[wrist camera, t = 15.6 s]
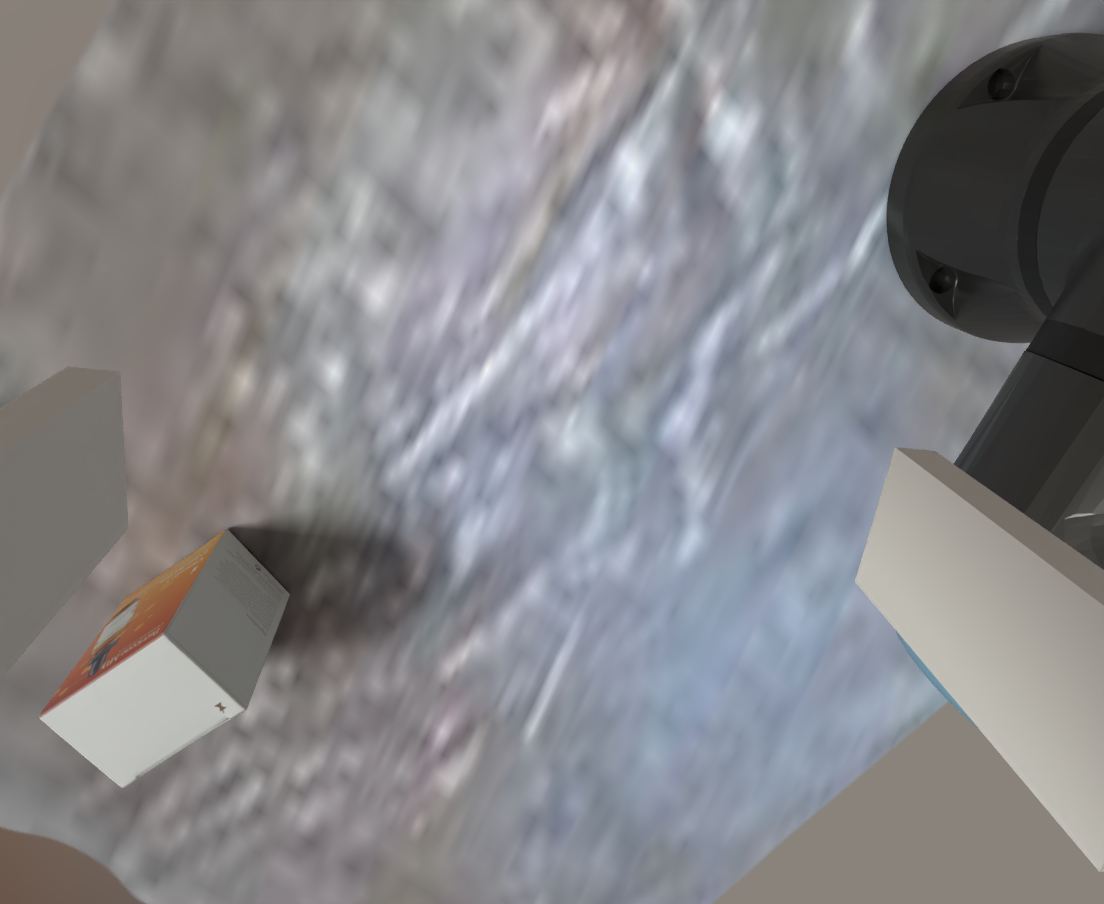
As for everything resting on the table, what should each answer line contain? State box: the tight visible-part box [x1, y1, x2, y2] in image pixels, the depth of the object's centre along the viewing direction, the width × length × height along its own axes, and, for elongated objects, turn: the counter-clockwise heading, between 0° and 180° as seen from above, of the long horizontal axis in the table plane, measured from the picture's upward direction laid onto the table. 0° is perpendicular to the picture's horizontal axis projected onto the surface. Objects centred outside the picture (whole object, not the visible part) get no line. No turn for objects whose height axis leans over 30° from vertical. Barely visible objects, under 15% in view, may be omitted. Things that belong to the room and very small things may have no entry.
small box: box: [39, 529, 290, 788], centre depth 44 cm, size 8×6×10 cm
